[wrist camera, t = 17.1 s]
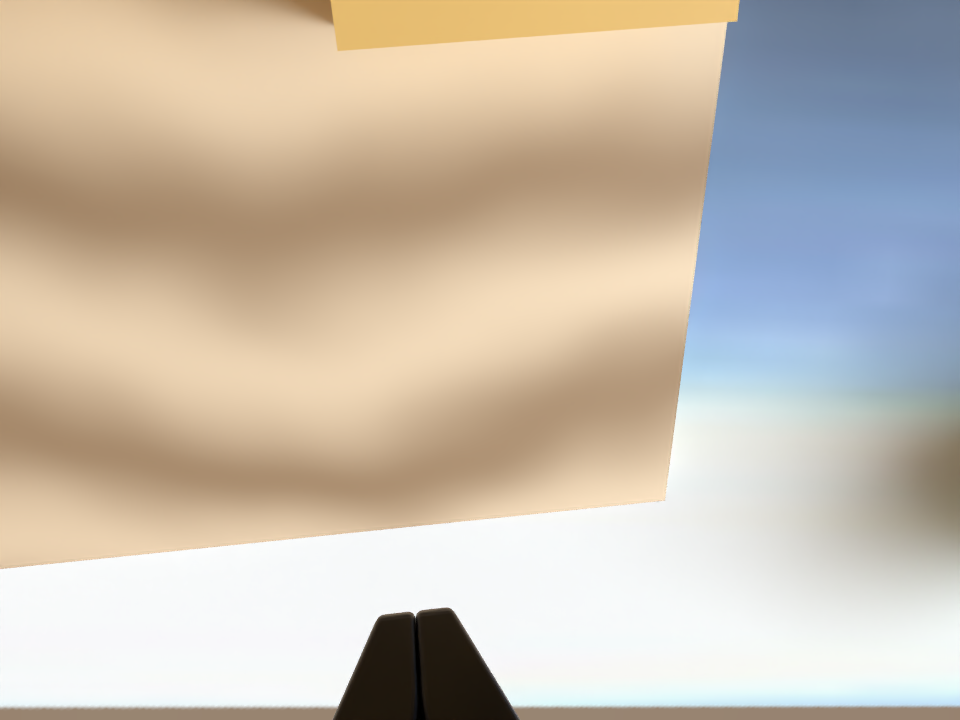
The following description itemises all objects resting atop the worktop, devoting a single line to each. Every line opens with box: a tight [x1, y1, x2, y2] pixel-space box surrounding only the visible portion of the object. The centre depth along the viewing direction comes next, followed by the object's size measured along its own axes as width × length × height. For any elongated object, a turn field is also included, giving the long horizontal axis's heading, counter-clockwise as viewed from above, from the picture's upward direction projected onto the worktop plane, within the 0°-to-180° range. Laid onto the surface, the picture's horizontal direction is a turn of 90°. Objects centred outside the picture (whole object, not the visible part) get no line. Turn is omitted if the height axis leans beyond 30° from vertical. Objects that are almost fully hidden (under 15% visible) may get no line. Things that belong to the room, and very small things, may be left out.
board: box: [0, 0, 727, 569], centre depth 17 cm, size 21×25×1 cm
